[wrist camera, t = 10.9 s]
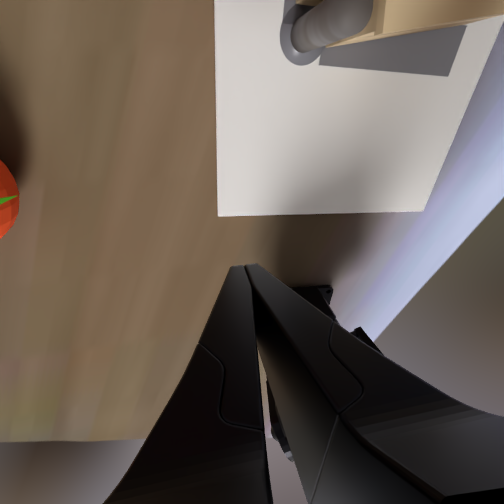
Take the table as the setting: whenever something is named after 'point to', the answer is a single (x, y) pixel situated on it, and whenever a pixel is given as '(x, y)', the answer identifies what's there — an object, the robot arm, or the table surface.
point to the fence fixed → (329, 22)
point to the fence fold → (421, 17)
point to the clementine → (7, 199)
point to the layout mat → (335, 113)
